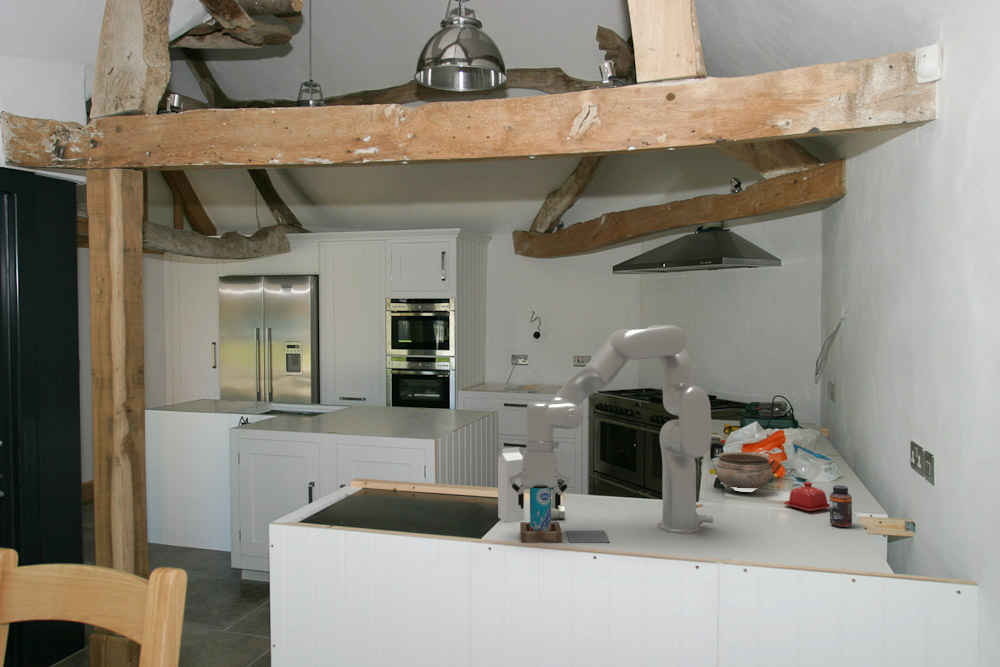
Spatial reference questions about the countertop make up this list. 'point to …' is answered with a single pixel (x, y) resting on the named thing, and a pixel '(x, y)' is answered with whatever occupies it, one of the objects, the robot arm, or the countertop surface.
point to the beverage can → (540, 509)
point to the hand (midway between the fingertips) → (539, 507)
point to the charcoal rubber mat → (587, 536)
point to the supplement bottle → (840, 507)
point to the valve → (560, 511)
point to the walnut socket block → (541, 534)
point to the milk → (509, 485)
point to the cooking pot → (744, 469)
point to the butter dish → (808, 498)
